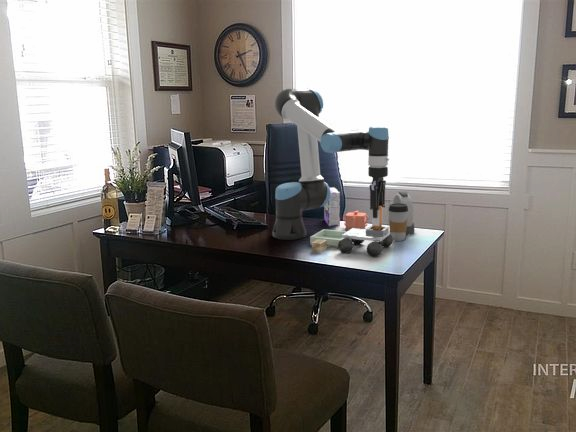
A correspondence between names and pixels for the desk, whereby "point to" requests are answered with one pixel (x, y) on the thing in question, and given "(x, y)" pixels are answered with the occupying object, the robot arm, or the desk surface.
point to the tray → (328, 237)
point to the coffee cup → (398, 221)
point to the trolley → (360, 235)
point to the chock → (319, 245)
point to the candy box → (333, 209)
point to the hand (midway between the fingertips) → (377, 224)
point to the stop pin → (379, 220)
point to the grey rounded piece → (406, 199)
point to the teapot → (355, 220)
